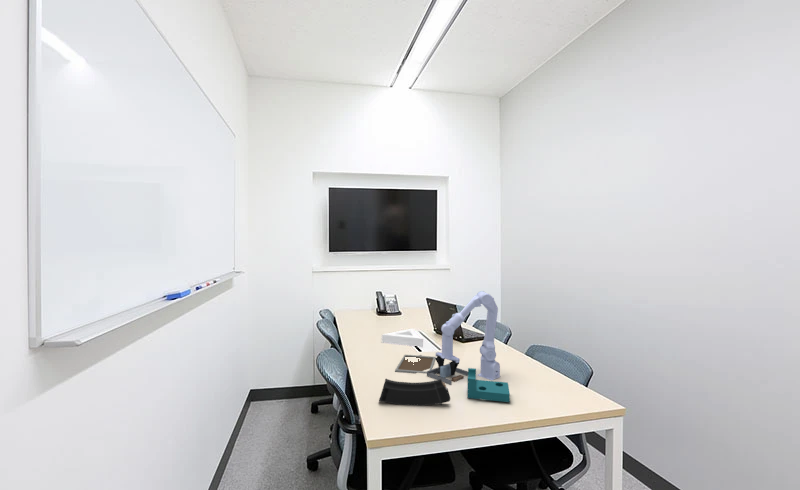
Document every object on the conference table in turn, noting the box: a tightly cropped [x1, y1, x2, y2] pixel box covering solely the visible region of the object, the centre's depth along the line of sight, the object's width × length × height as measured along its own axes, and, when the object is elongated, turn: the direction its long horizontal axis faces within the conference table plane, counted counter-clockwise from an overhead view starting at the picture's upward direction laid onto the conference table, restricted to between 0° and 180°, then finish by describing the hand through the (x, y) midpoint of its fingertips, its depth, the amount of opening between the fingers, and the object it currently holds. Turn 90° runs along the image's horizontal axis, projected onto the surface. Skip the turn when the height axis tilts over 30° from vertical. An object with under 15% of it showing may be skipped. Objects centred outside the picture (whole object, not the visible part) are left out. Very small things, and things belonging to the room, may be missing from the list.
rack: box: [426, 366, 468, 386], centre depth 185 cm, size 16×17×3 cm
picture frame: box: [394, 354, 437, 374], centre depth 205 cm, size 19×2×30 cm
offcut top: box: [451, 374, 465, 382], centre depth 181 cm, size 2×7×1 cm, turn 132°
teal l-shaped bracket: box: [466, 367, 511, 403], centre depth 161 cm, size 18×11×10 cm, turn 78°
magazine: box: [378, 378, 451, 407], centre depth 154 cm, size 17×3×30 cm
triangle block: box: [381, 327, 424, 348], centre depth 247 cm, size 30×26×6 cm
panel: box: [439, 363, 451, 378], centre depth 186 cm, size 2×9×6 cm, turn 133°
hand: (447, 373), depth 186 cm, fingers open, 7 cm apart
